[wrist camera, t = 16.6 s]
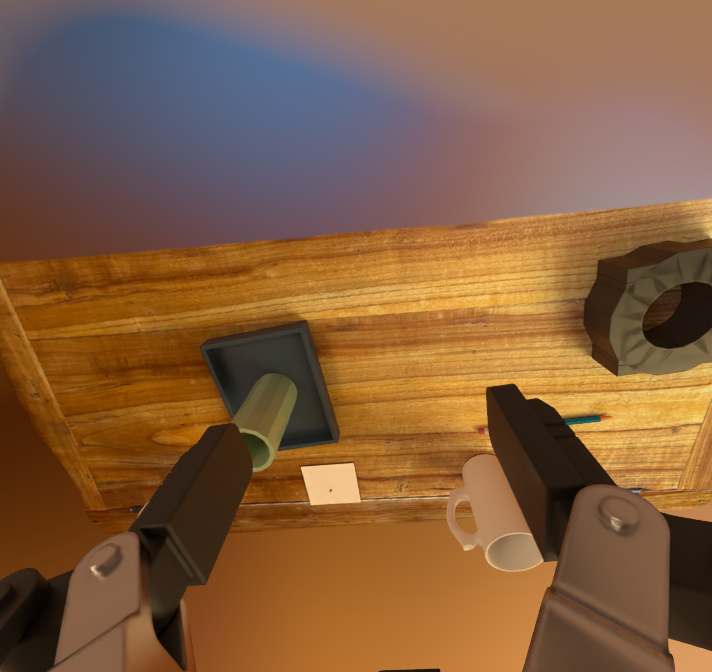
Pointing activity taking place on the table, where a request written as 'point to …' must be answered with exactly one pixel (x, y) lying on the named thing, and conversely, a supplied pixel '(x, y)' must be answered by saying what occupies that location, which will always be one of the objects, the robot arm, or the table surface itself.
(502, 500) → the mug
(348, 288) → the table surface
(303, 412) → the tray
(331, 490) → the coaster
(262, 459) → the cup
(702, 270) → the dark brown carved ring
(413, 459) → the table surface
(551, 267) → the table surface
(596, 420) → the pencil
